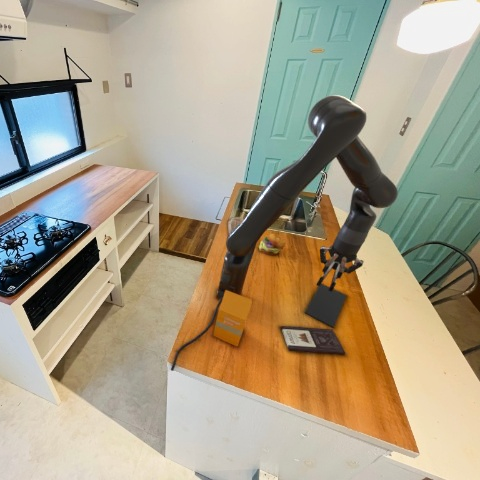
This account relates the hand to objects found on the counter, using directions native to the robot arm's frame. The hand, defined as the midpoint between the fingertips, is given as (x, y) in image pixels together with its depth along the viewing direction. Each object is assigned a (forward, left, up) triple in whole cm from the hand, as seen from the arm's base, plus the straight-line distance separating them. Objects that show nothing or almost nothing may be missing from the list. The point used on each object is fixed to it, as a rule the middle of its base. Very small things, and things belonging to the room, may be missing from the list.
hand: (330, 275), depth 95 cm
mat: (+1, -3, -14) cm, 15 cm away
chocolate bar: (-21, -4, -14) cm, 26 cm away
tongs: (-1, 0, 0) cm, 1 cm away
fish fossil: (+26, +50, -15) cm, 58 cm away
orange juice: (-38, +19, -15) cm, 45 cm away
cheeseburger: (+20, +28, -15) cm, 38 cm away
